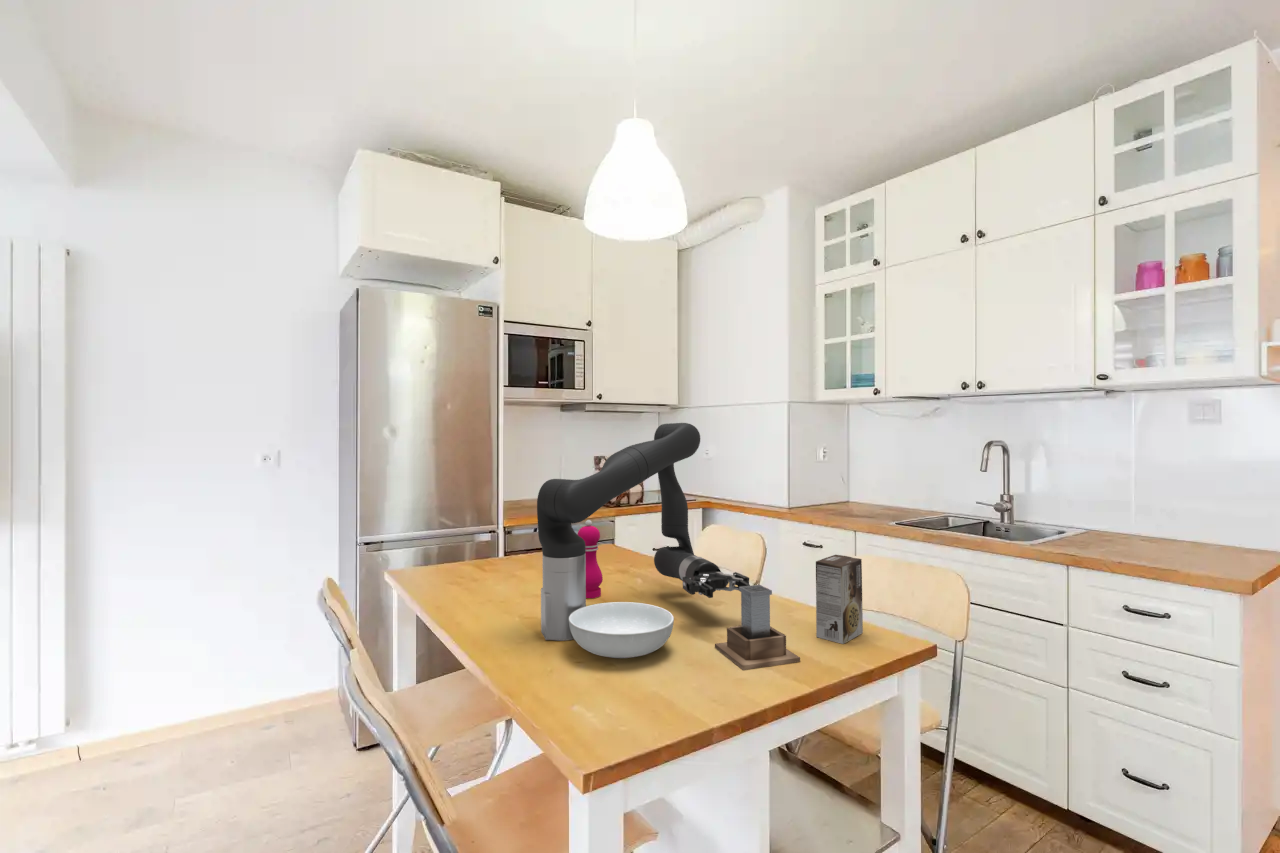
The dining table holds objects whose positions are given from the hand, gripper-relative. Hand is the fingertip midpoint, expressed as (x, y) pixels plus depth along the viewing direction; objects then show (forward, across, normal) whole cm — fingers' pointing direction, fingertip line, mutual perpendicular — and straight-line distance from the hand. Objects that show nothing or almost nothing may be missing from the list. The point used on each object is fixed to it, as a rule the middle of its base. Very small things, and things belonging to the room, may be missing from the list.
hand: (730, 591), depth 129 cm
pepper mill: (-41, -21, +10) cm, 47 cm away
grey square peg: (+11, 0, +9) cm, 14 cm away
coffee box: (+7, +22, +10) cm, 25 cm away
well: (+11, 0, +10) cm, 15 cm away
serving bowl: (0, -24, +10) cm, 26 cm away
